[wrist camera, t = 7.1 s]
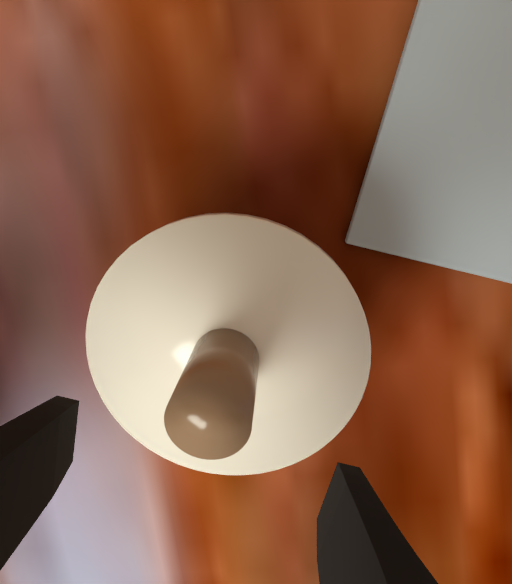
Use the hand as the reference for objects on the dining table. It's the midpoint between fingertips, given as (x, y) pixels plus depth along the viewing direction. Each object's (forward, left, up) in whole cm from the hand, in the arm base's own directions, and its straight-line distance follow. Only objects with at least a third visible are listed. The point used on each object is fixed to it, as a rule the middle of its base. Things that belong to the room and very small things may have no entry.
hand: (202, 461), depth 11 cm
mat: (-10, -11, -10) cm, 18 cm away
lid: (0, 0, -6) cm, 6 cm away
